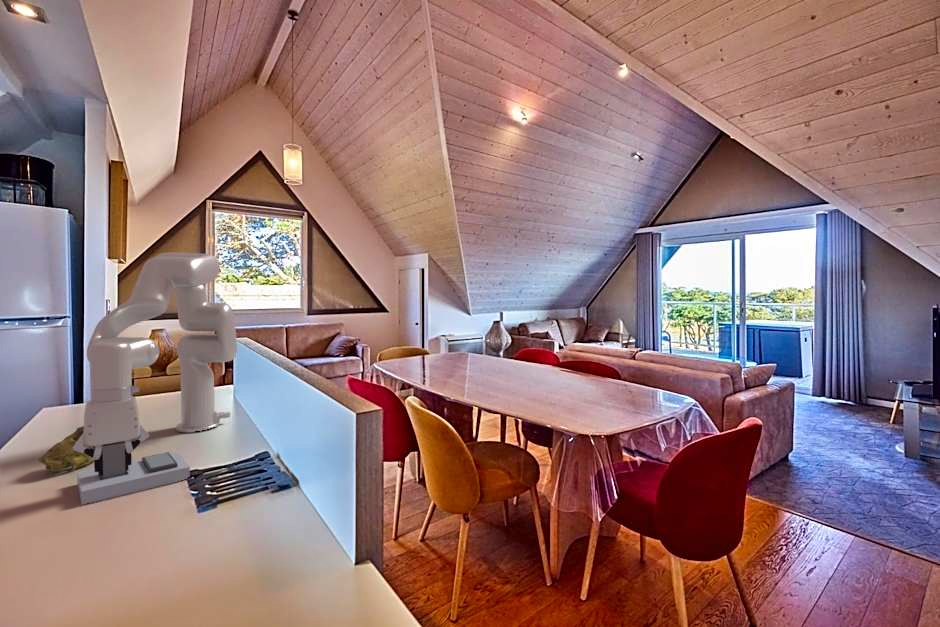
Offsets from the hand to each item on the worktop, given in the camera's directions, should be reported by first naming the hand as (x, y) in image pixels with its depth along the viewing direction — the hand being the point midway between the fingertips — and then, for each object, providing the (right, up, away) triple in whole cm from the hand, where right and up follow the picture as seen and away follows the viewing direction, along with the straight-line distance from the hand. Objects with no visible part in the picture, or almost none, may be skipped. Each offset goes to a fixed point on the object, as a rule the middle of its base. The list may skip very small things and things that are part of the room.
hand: (113, 470), depth 104 cm
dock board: (+3, -4, +3) cm, 5 cm away
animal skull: (-18, -3, +12) cm, 22 cm away
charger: (0, -2, 0) cm, 2 cm away
